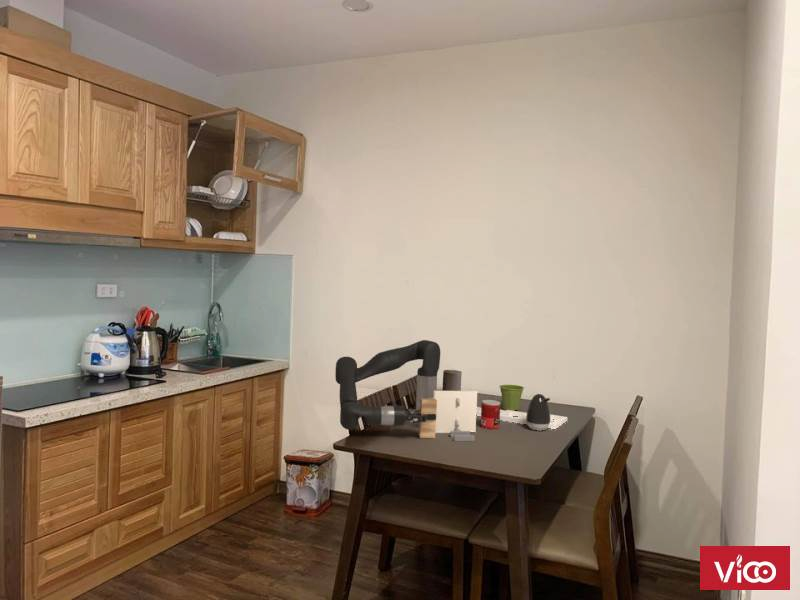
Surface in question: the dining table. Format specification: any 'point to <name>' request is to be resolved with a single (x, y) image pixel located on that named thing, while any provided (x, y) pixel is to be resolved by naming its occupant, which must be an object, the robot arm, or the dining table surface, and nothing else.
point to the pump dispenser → (538, 413)
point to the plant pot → (511, 396)
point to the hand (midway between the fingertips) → (434, 415)
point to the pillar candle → (451, 380)
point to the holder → (522, 418)
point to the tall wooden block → (429, 426)
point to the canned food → (490, 414)
